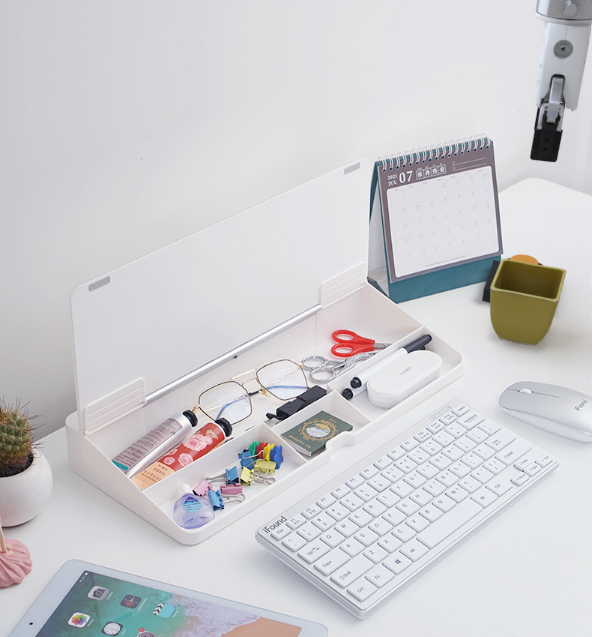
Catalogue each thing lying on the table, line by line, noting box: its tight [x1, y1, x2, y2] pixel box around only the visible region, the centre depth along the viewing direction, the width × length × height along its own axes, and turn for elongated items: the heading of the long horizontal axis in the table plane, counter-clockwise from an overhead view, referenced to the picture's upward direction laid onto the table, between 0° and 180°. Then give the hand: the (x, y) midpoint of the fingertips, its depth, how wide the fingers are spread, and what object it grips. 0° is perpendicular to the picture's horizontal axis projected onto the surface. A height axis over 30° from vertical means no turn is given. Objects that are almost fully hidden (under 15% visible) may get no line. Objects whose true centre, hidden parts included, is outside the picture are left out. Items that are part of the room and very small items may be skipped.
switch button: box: [510, 253, 539, 265], centre depth 118 cm, size 4×4×2 cm
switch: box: [481, 257, 543, 303], centre depth 119 cm, size 10×9×4 cm
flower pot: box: [489, 258, 567, 346], centre depth 109 cm, size 9×9×9 cm
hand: (544, 145), depth 101 cm, fingers open, 9 cm apart
